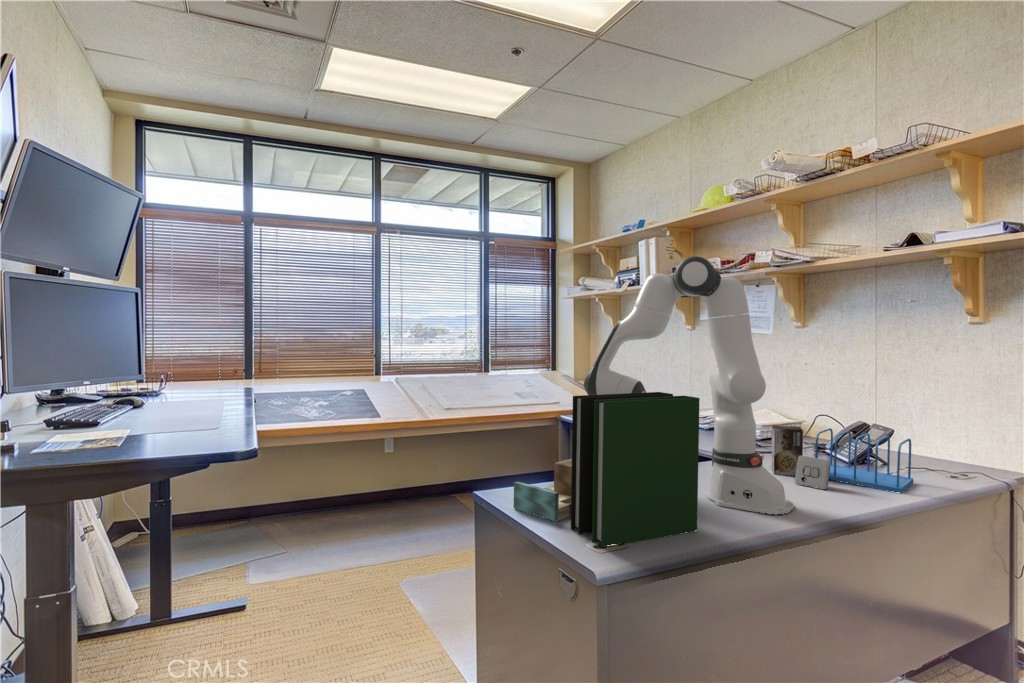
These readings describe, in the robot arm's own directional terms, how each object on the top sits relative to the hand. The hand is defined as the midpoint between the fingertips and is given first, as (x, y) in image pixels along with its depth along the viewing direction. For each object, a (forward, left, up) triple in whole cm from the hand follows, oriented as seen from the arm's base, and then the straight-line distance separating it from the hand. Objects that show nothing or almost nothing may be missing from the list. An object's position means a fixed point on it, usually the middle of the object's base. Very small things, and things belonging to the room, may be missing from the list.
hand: (594, 464), depth 160 cm
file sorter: (-53, -77, -9) cm, 94 cm away
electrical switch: (-44, -57, -9) cm, 72 cm away
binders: (-24, +19, -9) cm, 31 cm away
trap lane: (-1, +18, -8) cm, 20 cm away
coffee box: (-33, -68, -9) cm, 76 cm away
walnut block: (-1, +12, -5) cm, 13 cm away
